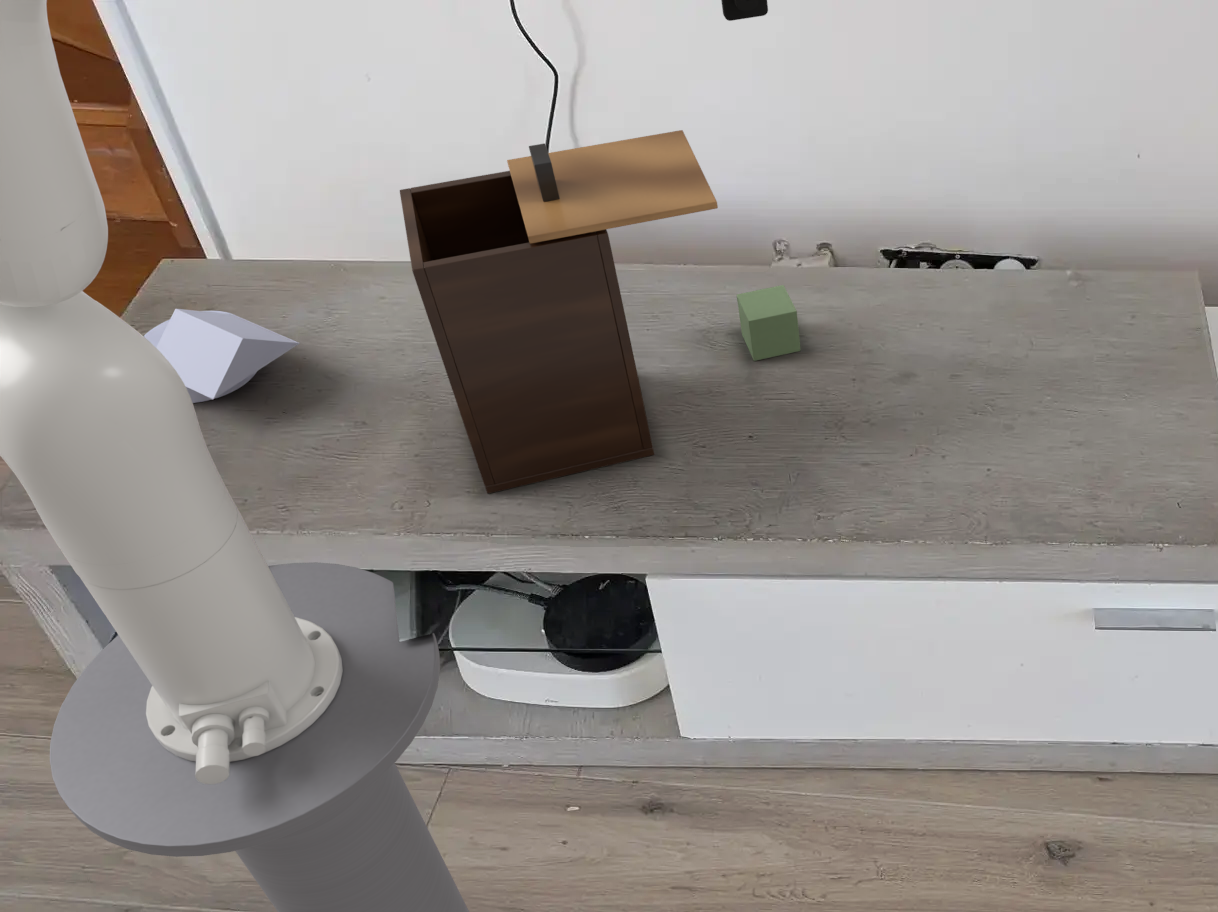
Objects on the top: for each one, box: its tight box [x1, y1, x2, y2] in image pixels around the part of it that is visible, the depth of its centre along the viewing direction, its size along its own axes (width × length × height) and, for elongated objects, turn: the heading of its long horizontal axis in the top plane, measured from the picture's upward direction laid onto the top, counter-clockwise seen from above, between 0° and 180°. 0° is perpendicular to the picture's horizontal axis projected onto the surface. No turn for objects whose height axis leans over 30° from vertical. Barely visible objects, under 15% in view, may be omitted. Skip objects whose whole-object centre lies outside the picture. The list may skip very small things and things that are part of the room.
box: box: [399, 170, 655, 494], centre depth 105 cm, size 12×14×21 cm
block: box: [736, 284, 801, 362], centre depth 120 cm, size 4×4×4 cm
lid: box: [506, 129, 719, 243], centre depth 98 cm, size 12×14×4 cm
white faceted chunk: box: [143, 308, 300, 404], centre depth 115 cm, size 9×7×13 cm
